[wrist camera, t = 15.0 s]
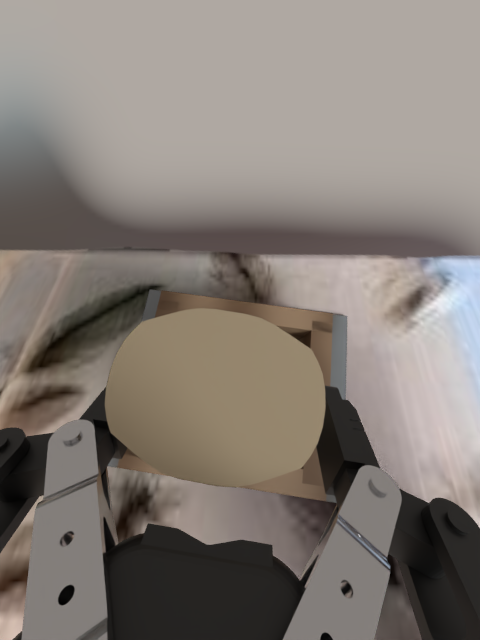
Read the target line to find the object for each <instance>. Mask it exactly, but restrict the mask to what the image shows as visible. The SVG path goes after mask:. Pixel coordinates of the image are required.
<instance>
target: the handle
mask: <svg viewBox="0 0 480 640" xmlns="http://www.w3.org/2000/svg"><path fill="white" fill-rule="evenodd" d="M105 411H106V418H107V422H108V426H109V429H110V433H111V434H113V435H114V436H115V437H116V438H117V439H118V440H119V441H121V442H122V443H123V444H124V445H125V446H126V447H127V448H128V449H130V450H131V451H132V452H133V453H134V454H136V455H137V456H138V457H139V458H140V459H142V460H143V461H144V462H145V463H147V464H148V465H150V466H151V467H153V468H154V469H156V470H158V471H159V472H161V473H163V474H166V475H169V476H172V477H175V478H178V479H182V480H188V481H193V482H198V483H203V484H208V485H214V486H222V487H241V486H246V485H252V484H256V483H259V482H262V481H265V480H269V479H272V478H275V477H278V476H281V475H283V474H286V473H289V472H292V471H295V470H298V469H301V468H302V467H303V465H304V464H305V463H306V462H307V460H308V459H309V458H310V456H311V454H312V453H313V451H314V449H315V447H316V446H317V444H318V441H319V438H320V434H321V431H322V428H323V422H324V415H325V385H324V379H323V373H322V371H321V368H320V366H319V363H318V360H317V359H316V357H315V355H314V353H313V351H312V349H310V348H309V347H307V346H306V345H304V344H303V343H301V342H300V341H298V340H297V339H296V338H294V337H293V336H291V335H290V334H288V333H287V332H285V331H283V330H282V329H280V328H279V327H277V326H276V325H274V324H272V323H270V322H268V321H266V320H264V319H262V318H259V317H255V316H251V315H248V314H243V313H236V312H230V311H224V310H218V309H206V308H197V309H189V310H183V311H179V312H175V313H171V314H167V315H164V316H160V317H157V318H153V319H149V320H146V321H142V322H141V323H140V324H139V325H138V326H137V327H136V328H135V329H134V330H133V331H132V332H131V333H130V334H129V335H128V337H127V338H126V339H125V340H124V342H123V344H122V345H121V347H120V349H119V351H118V352H117V354H116V357H115V359H114V362H113V364H112V367H111V369H110V373H109V377H108V381H107V386H106V395H105Z"/></svg>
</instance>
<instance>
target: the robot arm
mask: <svg viewBox="0 0 480 640" xmlns="http://www.w3.org/2000/svg"><path fill="white" fill-rule="evenodd" d="M105 395H106V387H105V389H104V391H102V392H101V393H100V395H99V396H98V397H97V398H96V400H95V401H94V402H93V403H92V404H91V406H90V407H89V408H88V409H87V410H86V412H85V413H84V414H83V415H82V417H81V418H80V419H79V420H75V421H72V422H69V423H67V424H65V425H63V426H61V427H60V428H59V429H57V430H56V431H55V432H54V433H49V434H42V435H34V436H27V437H26V435H25V433H24V432H23V430H21V429H19V428H6V429H2V430H0V553H1V551H2V550H3V548H4V547H5V545H6V544H7V542H8V541H9V540H10V538H11V537H12V535H13V534H14V532H15V531H16V529H17V528H18V527H19V525H20V524H21V522H22V521H23V519H24V518H25V516H26V515H27V513H28V512H29V511H30V509H31V508H32V506H33V505H34V503H35V502H36V500H37V499H38V497H39V496H42V495H44V497H43V501H41V502H39V503H38V504H37V506H36V509H35V515H34V524H33V533H32V543H31V553H30V562H29V572H28V581H27V591H26V601H25V610H24V620H23V629H22V631H21V632H20V633H19V634H18V635H17V636H16V637H15V638H14V639H13V640H374V639H375V634H376V630H377V626H378V622H379V618H380V614H381V610H382V605H383V601H384V597H385V593H386V589H387V585H388V581H389V576H390V564H389V563H388V562H387V556H388V554H389V555H391V556H392V557H394V558H396V559H397V560H398V563H399V566H400V569H401V573H402V576H403V579H404V582H405V585H406V589H407V592H408V595H409V598H410V601H411V605H412V608H413V611H414V614H415V617H416V621H417V624H418V627H419V630H420V633H421V637H422V640H480V528H479V527H478V525H477V524H476V522H475V521H474V520H473V519H472V518H471V517H470V515H469V514H468V513H466V512H465V511H464V510H463V509H462V508H461V507H459V506H458V505H456V504H455V503H453V502H451V501H449V500H447V499H443V498H435V499H433V500H432V501H431V502H430V503H427V502H425V501H423V500H421V499H419V498H417V497H415V496H413V495H411V494H408V493H406V492H404V491H403V490H401V489H399V488H398V486H397V484H396V483H395V481H394V480H393V479H392V478H391V477H390V476H389V475H388V474H387V473H386V472H384V471H383V470H381V469H380V466H379V464H378V462H377V459H376V457H375V454H374V452H373V450H372V447H371V445H370V442H369V440H368V437H367V435H366V433H365V432H364V428H363V425H362V423H361V422H360V421H361V420H360V418H359V415H358V413H357V411H356V409H355V408H354V407H353V406H352V404H351V403H350V402H349V401H348V400H343V399H342V397H341V395H340V392H339V389H338V388H337V387H332V386H325V415H324V422H323V428H322V431H321V434H320V438H319V441H318V444H317V446H316V448H317V453H318V458H319V463H320V468H321V473H322V478H323V484H324V489H325V494H328V495H334V496H335V498H336V502H337V505H336V507H335V509H334V511H333V513H332V515H331V517H330V519H329V521H328V523H327V525H326V528H325V530H324V532H323V534H322V536H321V538H320V540H319V542H318V544H317V546H316V548H315V550H314V552H313V554H312V556H311V558H310V559H309V561H308V563H307V565H306V567H305V569H304V571H303V573H302V575H301V577H300V579H298V578H297V577H296V575H295V574H294V573H293V572H292V571H291V570H290V569H289V568H288V567H287V566H286V565H285V564H284V563H283V562H282V561H280V560H279V559H278V558H276V557H274V556H273V554H272V545H268V544H263V543H257V542H251V541H245V540H237V541H231V542H226V543H220V544H214V545H206V544H204V543H202V542H200V541H199V540H197V539H195V538H193V537H192V536H190V535H188V534H186V533H185V532H183V531H181V530H179V529H177V528H171V527H165V526H160V525H154V524H148V525H147V528H146V531H145V533H143V534H139V535H136V536H133V537H130V538H128V539H126V540H124V541H122V542H120V543H119V544H118V540H117V533H116V528H115V523H114V518H113V512H112V504H111V496H110V487H109V479H108V471H107V466H108V464H109V462H110V461H111V459H112V458H116V459H122V457H123V455H124V454H125V452H126V450H127V447H126V446H125V445H124V444H123V443H122V442H121V441H119V440H118V439H117V438H116V437H115V436H114V435H113V434H111V433H110V429H109V426H108V422H107V418H106V411H105Z"/></svg>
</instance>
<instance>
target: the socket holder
mask: <svg viewBox="0 0 480 640" xmlns="http://www.w3.org/2000/svg"><path fill="white" fill-rule="evenodd" d="M197 308H206V309H218V310H224V311H230V312H236V313H243V314H248V315H251V316H255V317H259V318H262V319H264V320H266V321H268V322H270V323H272V324H274V325H276V326H277V327H279V328H280V329H282V330H283V331H285V332H287V333H288V334H290V335H291V336H293V337H294V338H296V339H297V340H298V341H300V342H301V343H303V344H304V345H306V346H307V347H309V348H310V349H312V351H313V353H314V355H315V357H316V359H317V360H318V363H319V366H320V368H321V371H322V373H323V379H324V385H325V386H332V387H337V388H338V389H339V392H340V395H341V397H342V399H343V400H346V352H347V316H343V315H335V314H332V313H324V312H317V311H310V310H302V309H295V308H288V307H280V306H273V305H265V304H258V303H251V302H243V301H236V300H228V299H221V298H214V297H206V296H199V295H192V294H184V293H177V292H169V291H162V290H161V291H158V290H151V289H150V291H149V294H148V298H147V302H146V306H145V309H144V313H143V317H142V321H146V320H149V319H153V318H157V317H160V316H164V315H167V314H171V313H175V312H179V311H183V310H189V309H197ZM142 321H141V322H142ZM108 466H111V467H117V468H123V469H129V470H136V471H142V472H148V473H154V474H160V475H166V474H163V473H161V472H159V471H158V470H156V469H154V468H153V467H151V466H150V465H148V464H147V463H145V462H144V461H143V460H142V459H140V458H139V457H138V456H137V455H136V454H134V453H133V452H132V451H131V450H130V449H128V448H127V450H126V452H125V454H124V455H123V457H122V459H116V458H112V459H111V461H110V462H109V464H108ZM167 476H169V475H167ZM241 488H247V489H253V490H259V491H265V492H271V493H278V494H284V495H290V496H296V497H302V498H309V499H315V500H321V501H327V502H334V503H337V502H336V498H335V496H334V495H328V494H325V489H324V484H323V478H322V473H321V468H320V463H319V458H318V453H317V448H316V447H315V449H314V451H313V453H312V454H311V456H310V458H309V459H308V460H307V462H306V463H305V464H304V465H303V467H302V468H301V469H298V470H295V471H292V472H289V473H286V474H283V475H281V476H278V477H275V478H272V479H269V480H265V481H262V482H259V483H256V484H252V485H246V486H241Z"/></svg>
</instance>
